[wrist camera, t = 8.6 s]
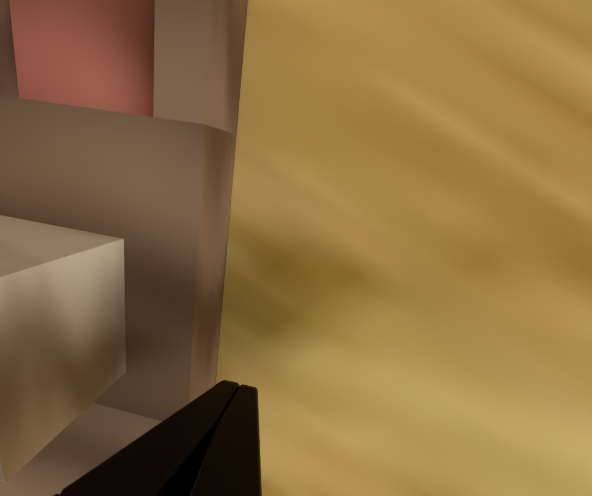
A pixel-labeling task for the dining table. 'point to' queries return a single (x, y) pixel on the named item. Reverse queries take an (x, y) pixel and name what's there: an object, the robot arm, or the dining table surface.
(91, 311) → the block
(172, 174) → the board
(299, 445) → the dining table surface
